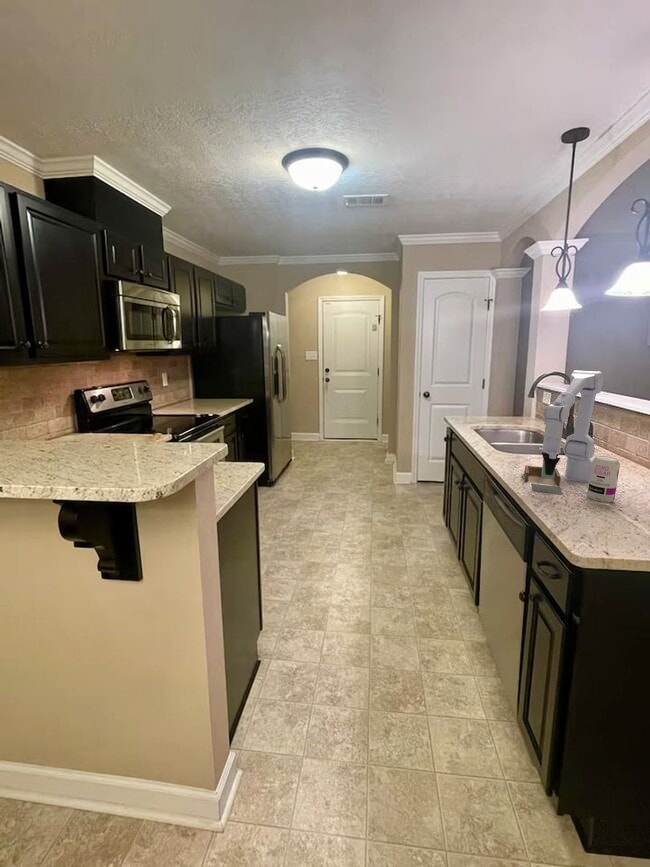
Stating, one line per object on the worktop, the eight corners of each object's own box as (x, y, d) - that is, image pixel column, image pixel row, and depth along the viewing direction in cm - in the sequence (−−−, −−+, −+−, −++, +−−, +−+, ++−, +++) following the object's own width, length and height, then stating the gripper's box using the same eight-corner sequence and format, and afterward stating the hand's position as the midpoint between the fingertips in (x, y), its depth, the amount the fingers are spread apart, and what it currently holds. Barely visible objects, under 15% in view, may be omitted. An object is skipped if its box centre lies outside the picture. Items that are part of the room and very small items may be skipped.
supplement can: (610, 497, 155) (616, 456, 152) (617, 504, 147) (623, 462, 144) (584, 494, 157) (590, 454, 154) (590, 501, 150) (596, 460, 147)
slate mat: (559, 488, 164) (559, 487, 164) (562, 496, 155) (563, 495, 155) (531, 484, 168) (531, 483, 168) (532, 492, 159) (532, 491, 159)
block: (553, 475, 161) (555, 460, 160) (554, 478, 158) (556, 462, 157) (541, 474, 163) (543, 459, 162) (542, 477, 159) (544, 461, 158)
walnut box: (556, 478, 177) (557, 468, 176) (559, 486, 166) (560, 476, 165) (524, 474, 181) (525, 465, 180) (525, 482, 170) (526, 472, 170)
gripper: (539, 433, 165) (535, 467, 168) (542, 440, 152) (537, 477, 155) (559, 434, 163) (555, 469, 165) (564, 442, 150) (559, 479, 152)
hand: (548, 473), depth 160 cm, fingers closed on block, 4 cm apart
